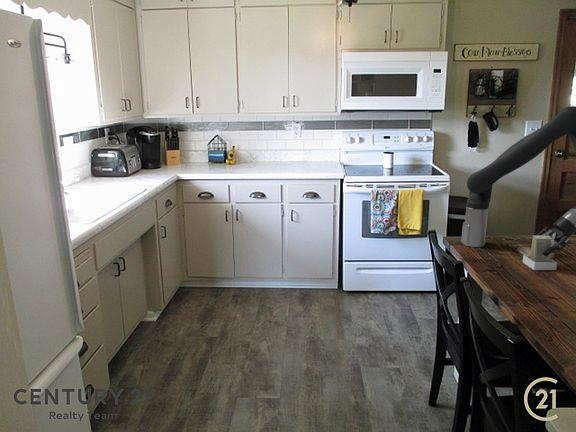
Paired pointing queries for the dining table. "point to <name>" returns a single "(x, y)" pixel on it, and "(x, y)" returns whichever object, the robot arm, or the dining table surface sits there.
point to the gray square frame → (539, 264)
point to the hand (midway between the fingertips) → (537, 251)
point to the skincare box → (540, 248)
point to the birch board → (528, 251)
